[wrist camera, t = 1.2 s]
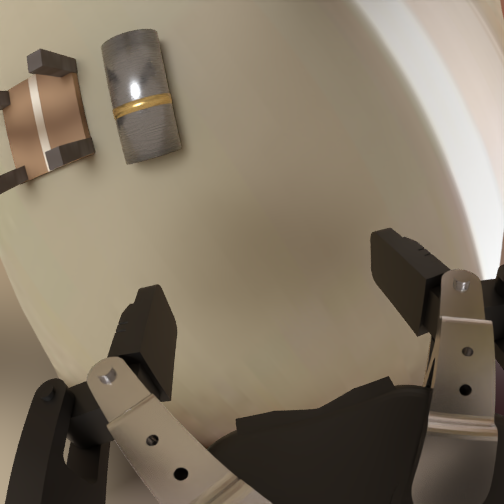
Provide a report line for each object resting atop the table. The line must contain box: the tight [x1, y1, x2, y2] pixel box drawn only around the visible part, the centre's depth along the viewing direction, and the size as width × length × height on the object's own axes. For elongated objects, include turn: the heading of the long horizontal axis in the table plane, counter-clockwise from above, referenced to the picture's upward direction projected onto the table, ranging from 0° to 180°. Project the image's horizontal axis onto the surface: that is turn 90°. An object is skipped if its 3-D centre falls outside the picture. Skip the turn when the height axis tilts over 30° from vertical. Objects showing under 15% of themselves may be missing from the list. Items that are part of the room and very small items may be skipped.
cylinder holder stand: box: [0, 49, 95, 194], centre depth 21 cm, size 10×9×7 cm
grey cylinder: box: [101, 29, 182, 164], centre depth 23 cm, size 11×5×5 cm, turn 11°
